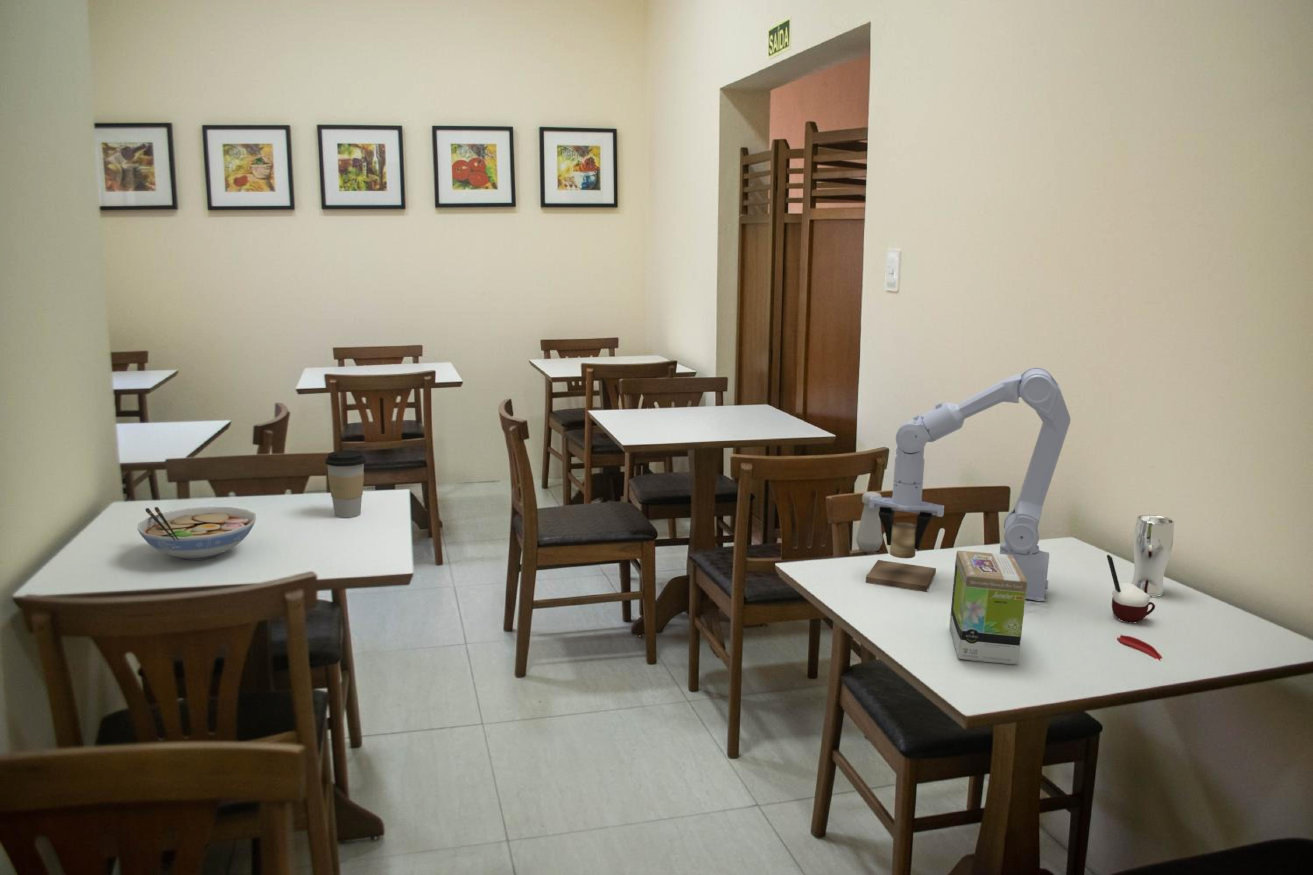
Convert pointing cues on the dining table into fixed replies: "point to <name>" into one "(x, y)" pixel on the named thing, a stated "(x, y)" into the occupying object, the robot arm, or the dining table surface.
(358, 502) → the coffee cup
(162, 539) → the ramen bowl
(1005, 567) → the tea box
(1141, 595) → the cocoa
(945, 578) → the dining table surface
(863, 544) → the salt shaker
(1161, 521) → the beer glass
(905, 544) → the oak cylinder
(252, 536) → the dining table surface
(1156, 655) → the cayenne pepper
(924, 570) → the walnut board
